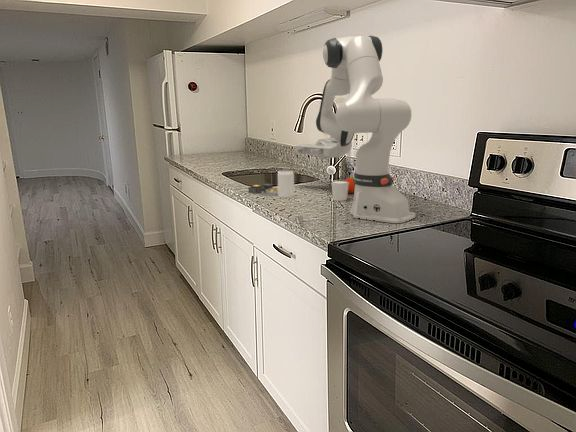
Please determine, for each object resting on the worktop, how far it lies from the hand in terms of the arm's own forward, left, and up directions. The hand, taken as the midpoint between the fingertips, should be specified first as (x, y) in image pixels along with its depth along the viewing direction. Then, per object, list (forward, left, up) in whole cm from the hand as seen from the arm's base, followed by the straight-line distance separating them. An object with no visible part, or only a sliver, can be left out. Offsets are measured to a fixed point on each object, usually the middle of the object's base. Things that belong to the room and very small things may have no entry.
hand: (304, 151), depth 189 cm
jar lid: (+8, +10, -17) cm, 21 cm away
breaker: (+15, +14, -16) cm, 26 cm away
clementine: (-15, -14, -18) cm, 27 cm away
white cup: (-18, -1, -18) cm, 26 cm away
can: (-1, +12, -18) cm, 22 cm away
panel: (+10, +11, -18) cm, 23 cm away
